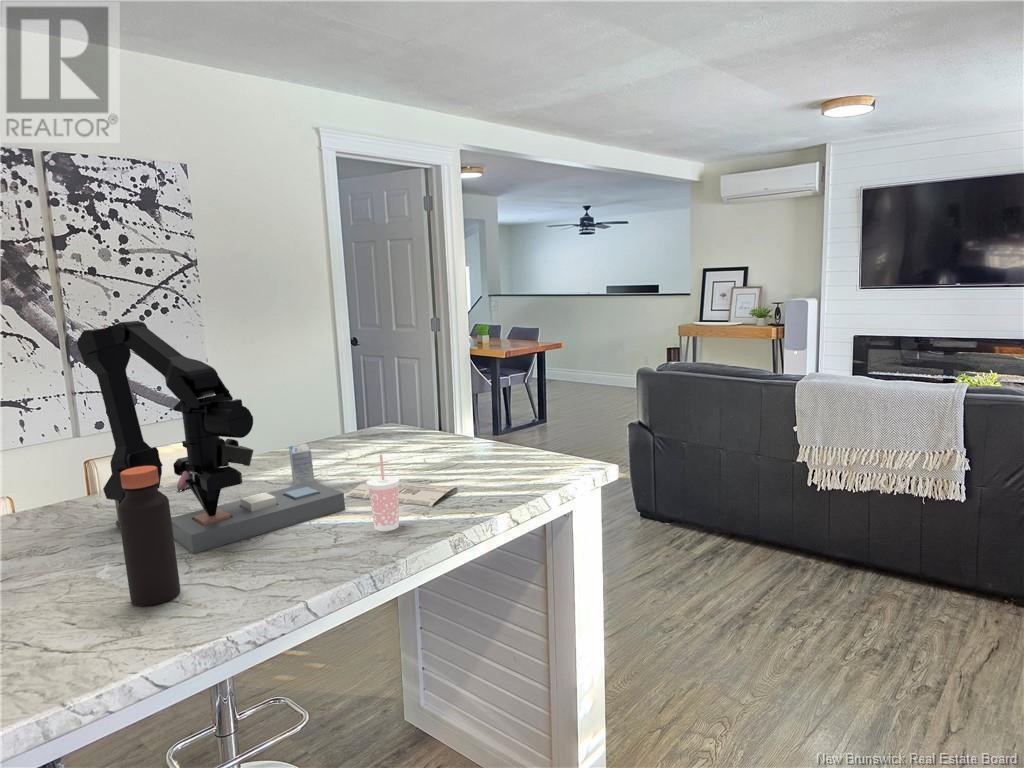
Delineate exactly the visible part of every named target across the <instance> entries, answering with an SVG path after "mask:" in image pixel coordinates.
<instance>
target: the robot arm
mask: <svg viewBox="0 0 1024 768" xmlns="http://www.w3.org/2000/svg"><path fill="white" fill-rule="evenodd" d="M76 345H77V349H78V351H79V353H80V356H81V358H82V361H83V364H84V366H86V367H87V368H88V369H89V370H90V371H92V373H94V374H95V376H96V377H97V382H98V384H99V388H100V392H101V396H102V400H103V404H104V407H105V411H106V415H107V419H108V422H109V426H110V430H111V434H112V438H113V441H114V446H115V448H114V451H113V454H112V456H111V460H110V471H111V475H110V477H109V478H108V479H107V482H106V483H105V485H104V487H103V489H102V490H103V492H104V495H105V499H106V500H107V499H108V500H114V501H115V502H114V503H115V509H116V517H117V520H116V521H115V524H116V525H117V526H119V527H120V522H119V515H118V506H119V504H120V503H121V502H122V500H123V499H124V498H125V496H126V494H125V491H123V488H122V484H121V477H120V473H121V472H122V471H124V470H126V469H130V468H134V467H139V466H156V467H157V469H158V476H159V482H158V483H159V485H158V486H157V487H158V489H160V487H161V486H160V485H161V478H162V474H163V469H162V467H163V463H162V461H161V459H160V454H159V453H160V452H159V450H158V448H157V447H156V446H154V447H151V446H150V445H149V444H148V443H147V442H146V441H145V440H144V438H143V433H142V429H141V426H140V422H139V417H138V413H137V410H136V406H135V402H134V399H133V398H134V397H133V394H132V390H131V387H130V386H131V385H130V383H129V379H128V375H127V372H126V371H127V369H128V368H127V367H128V365H129V362H130V359H131V356H132V354H131V351H132V352H134V354H136V355H137V356H138V357H140V358H141V359H142V360H144V362H146V363H147V364H149V366H151V367H152V368H154V370H156V371H157V372H159V373H160V375H162V376H163V377H164V380H165V385H166V387H167V388H168V390H169V391H170V392H171V393H172V394H173V395H174V396H175V397H176V398H177V399H178V400H179V402H177V404H175V405H174V406H173V409H172V410H173V411H174V412H181V415H182V421H183V422H182V423H183V430H184V439H185V440H182V441H181V442H182V447H183V448H184V449H186V455H187V456H184V457H181V458H180V457H179V458H177V459H176V460H175V461H174V463H173V472H174V474H175V475H176V476H179V477H181V475H182V474H183V472H184V471H187V472H188V473H189V477H190V479H188V480H185V482H186V483H187V484H188V485H187V487H188V488H189V489H190V490H191V492H192V493H193V495H194V496H195V498H196V499H197V501H198V502H199V503H200V505H201V507H202V508H203V509H204V510H205V511H206V513H207V515H208V516H214V515H216V510H217V506H219V505H218V504H219V498H220V494H221V490H222V489H226V488H231V487H234V486H237V485H241V484H243V476H242V472H240V471H239V470H238V469H236V468H234V467H232V466H229V465H230V463H231V464H239V465H243V466H245V467H250V466H251V462H252V458H253V455H254V454H253V453H254V449H252V448H250V447H247V446H243V445H239V441H238V440H236V438H238V439H242V438H245V437H247V436H248V435H249V434H250V432H251V431H252V429H253V426H254V416H253V415H252V412H251V411H250V409H249V408H248V407H246V406H244V405H243V400H242V399H240V398H235V399H234V398H233V396H232V394H231V393H230V391H229V389H228V388H227V386H226V385H225V384H224V382H223V381H222V379H221V377H220V376H219V373H218V372H217V370H216V369H215V368H214V367H213V366H211V365H209V364H207V363H205V362H203V361H201V360H197V359H194V358H189V357H186V356H185V355H182V354H181V353H180V352H179V351H177V349H175V348H174V347H173V346H171V345H170V344H169V343H167V342H166V341H164V340H163V338H161V337H160V336H158V335H157V334H156V333H154V332H153V331H152V330H150V329H149V328H148V326H147V325H146V323H145V322H143V321H140V320H133V321H132V320H130V321H129V320H128V321H119V322H118V323H115V324H112V325H111V326H107V327H104V328H95V329H94V328H93V329H86V330H83V331H82V332H81V333H80V336H79V337H78V338H77V342H76ZM221 437H222V438H221ZM224 438H226V439H224ZM234 438H235V439H234ZM219 467H222V468H219Z"/></svg>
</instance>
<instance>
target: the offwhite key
mask: <svg viewBox="0 0 1024 768" xmlns="http://www.w3.org/2000/svg"><path fill="white" fill-rule="evenodd" d="M268 493H269V492H266V491H264V492H261V493H257V494H253V495H248V496H246V497H242V498H240V500H241V507H242V508H243V509H245V510H247V511H249V512H253V511H257V510H261V509H264V508H268V507H272V506H276V505H277V503H276V497H274V496H272V495H270V494H268Z"/></svg>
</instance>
